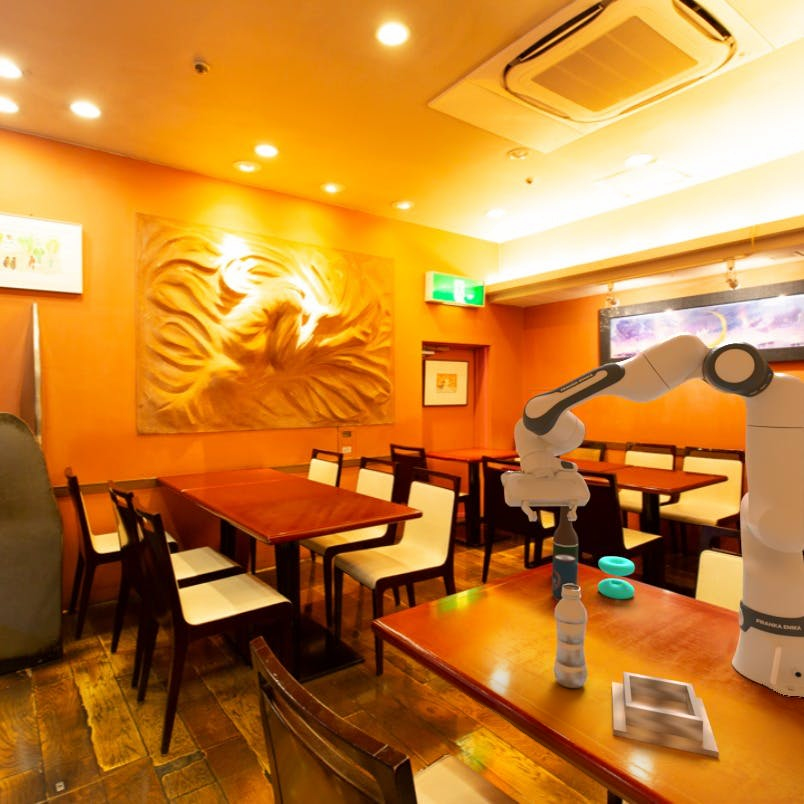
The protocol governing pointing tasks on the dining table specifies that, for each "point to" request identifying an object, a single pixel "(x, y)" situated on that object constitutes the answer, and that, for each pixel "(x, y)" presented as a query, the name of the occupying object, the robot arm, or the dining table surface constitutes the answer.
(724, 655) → the dining table surface
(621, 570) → the donuts
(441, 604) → the dining table surface
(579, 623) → the plastic bottle
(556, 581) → the soda can
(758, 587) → the robot arm
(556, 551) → the beer bottle
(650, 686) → the bottle holder
